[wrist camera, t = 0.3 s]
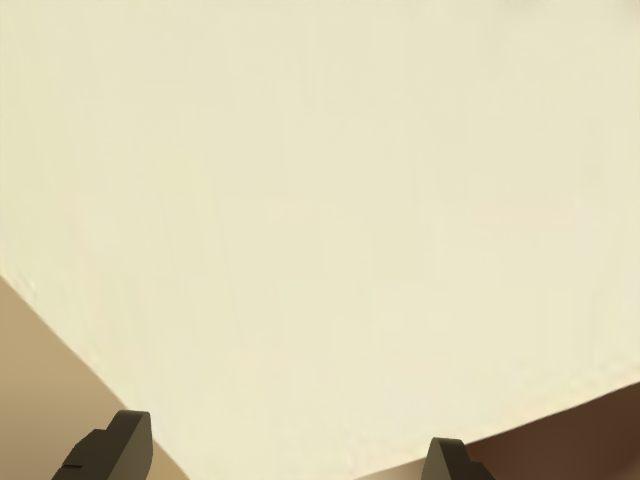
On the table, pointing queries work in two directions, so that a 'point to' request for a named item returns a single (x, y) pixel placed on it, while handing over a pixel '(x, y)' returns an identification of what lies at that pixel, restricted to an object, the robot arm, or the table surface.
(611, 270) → the table surface
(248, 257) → the table surface
